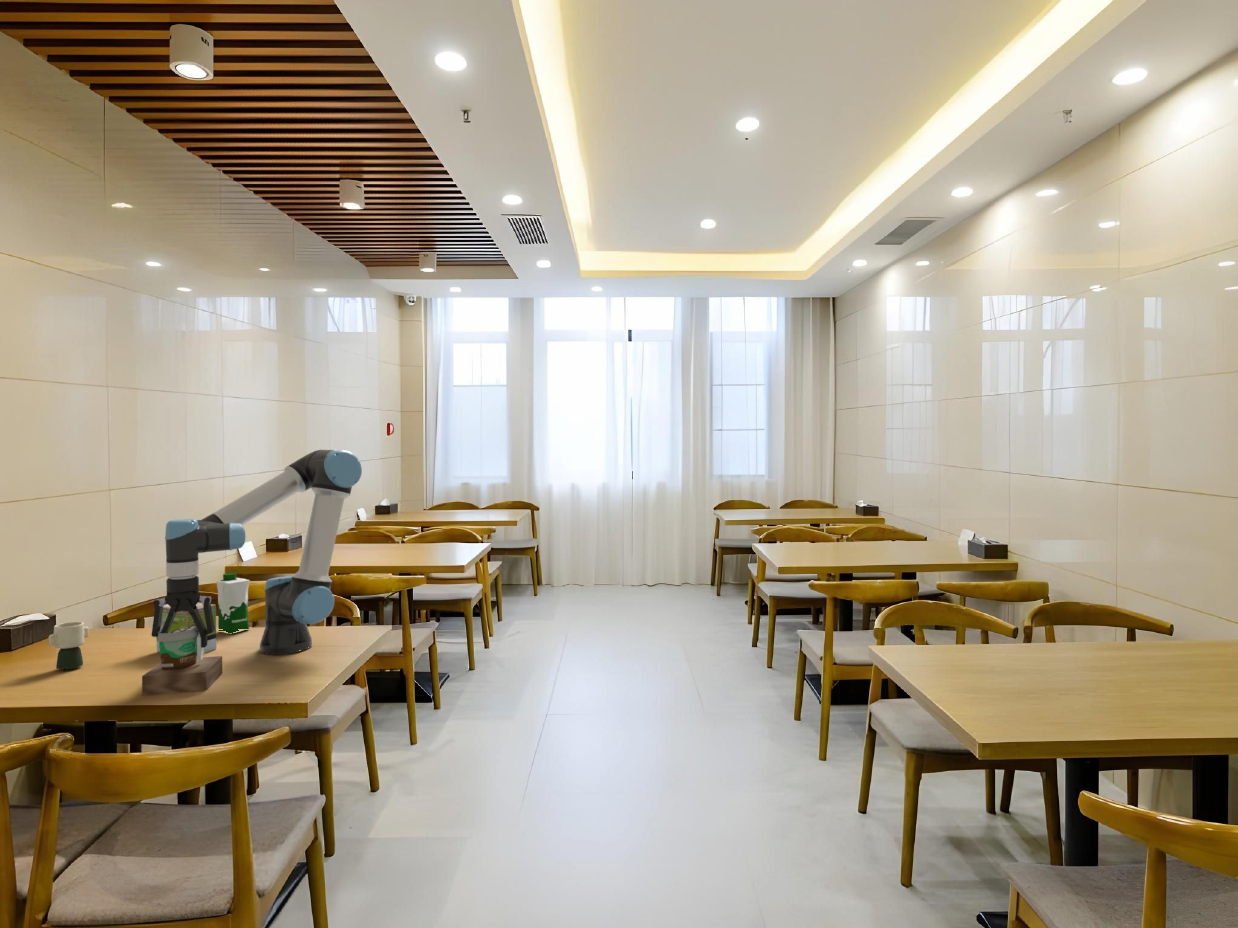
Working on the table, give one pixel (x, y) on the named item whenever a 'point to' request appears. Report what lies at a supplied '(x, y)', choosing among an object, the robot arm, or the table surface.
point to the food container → (178, 648)
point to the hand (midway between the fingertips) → (184, 660)
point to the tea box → (185, 620)
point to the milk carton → (232, 603)
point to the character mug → (69, 643)
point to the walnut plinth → (182, 677)
